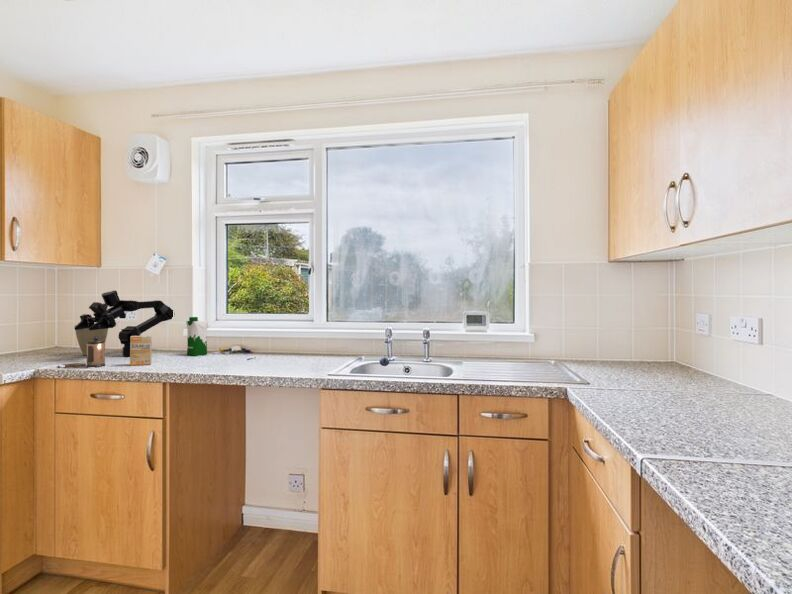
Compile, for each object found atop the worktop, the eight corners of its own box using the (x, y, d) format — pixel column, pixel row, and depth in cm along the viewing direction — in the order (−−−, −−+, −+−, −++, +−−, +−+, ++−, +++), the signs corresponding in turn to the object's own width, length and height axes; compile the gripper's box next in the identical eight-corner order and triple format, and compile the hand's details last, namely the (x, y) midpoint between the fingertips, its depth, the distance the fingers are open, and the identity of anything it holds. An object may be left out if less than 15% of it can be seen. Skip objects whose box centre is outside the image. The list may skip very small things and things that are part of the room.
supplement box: (129, 366, 192) (129, 336, 192) (131, 364, 196) (130, 335, 196) (151, 364, 196) (151, 335, 196) (152, 363, 200) (151, 334, 200)
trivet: (84, 363, 199) (84, 362, 199) (87, 366, 192) (87, 365, 192) (57, 366, 193) (57, 364, 193) (58, 368, 185) (58, 367, 185)
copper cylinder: (91, 365, 195) (91, 335, 195) (108, 365, 196) (108, 335, 196) (80, 368, 186) (80, 337, 186) (98, 368, 187) (98, 337, 187)
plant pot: (67, 356, 226) (67, 325, 226) (97, 352, 240) (97, 323, 240) (86, 357, 221) (86, 326, 221) (115, 353, 234) (115, 324, 234)
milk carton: (184, 355, 227) (184, 317, 227) (200, 353, 235) (200, 316, 235) (194, 356, 222) (194, 317, 222) (210, 354, 230) (210, 316, 230)
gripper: (90, 299, 215) (60, 313, 201) (118, 299, 209) (89, 313, 195) (99, 319, 219) (70, 334, 205) (127, 320, 213) (99, 335, 200)
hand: (81, 329), depth 201 cm, fingers open, 9 cm apart
